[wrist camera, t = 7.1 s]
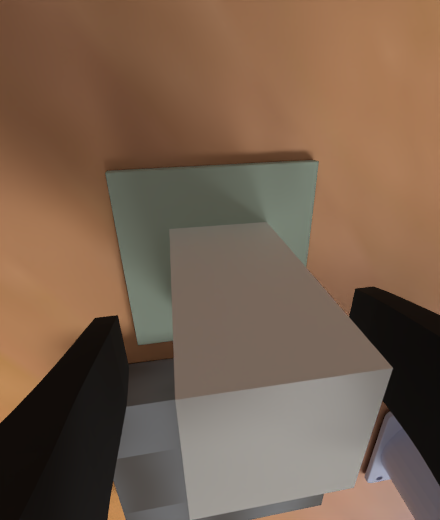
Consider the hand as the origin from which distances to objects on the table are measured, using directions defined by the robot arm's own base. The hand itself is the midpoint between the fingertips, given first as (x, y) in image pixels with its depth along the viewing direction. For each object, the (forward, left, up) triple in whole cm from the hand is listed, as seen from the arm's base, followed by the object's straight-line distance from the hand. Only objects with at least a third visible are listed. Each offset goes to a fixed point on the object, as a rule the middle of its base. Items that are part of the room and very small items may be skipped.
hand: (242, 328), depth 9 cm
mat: (0, 0, -5) cm, 5 cm away
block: (0, 0, -4) cm, 4 cm away
